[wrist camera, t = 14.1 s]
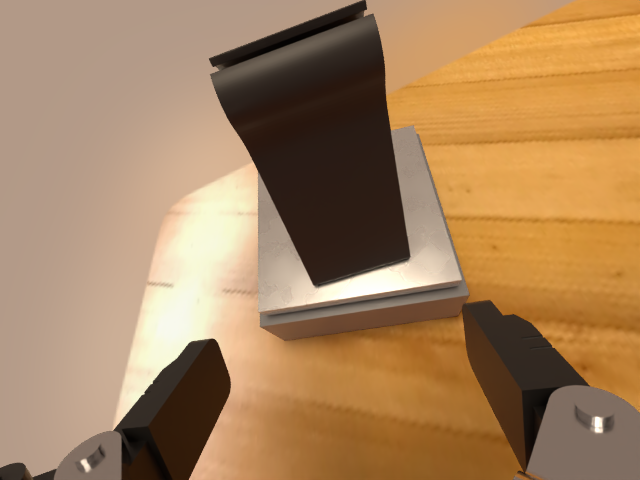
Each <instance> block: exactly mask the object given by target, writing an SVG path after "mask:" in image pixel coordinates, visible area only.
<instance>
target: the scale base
mask: <svg viewBox="0 0 640 480" xmlns="http://www.w3.org/2000/svg"><path fill="white" fill-rule="evenodd" d="M416 135H417V138H418V141H419V144H420V147H421V151H422V154H423V157H424V160H425V163H426V167H427V170H428V173H429V176H430V179H431V183H432V186H433V189H434V192H435V195H436V199H437V202H438V205H439V208H440V211H441V215H442V218H443V221H444V224H445V227H446V231H447V234H448V237H449V240H450V243H451V247H452V250H453V253H454V256H455V259H456V262H457V266H458V269H459V272H460V275H461V278H462V281H461V283H460V285H459V286H454V287H447V288H441V289H435V290H428V291H422V292H415V293H409V294H403V295H396V296H390V297H383V298H377V299H371V300H364V301H358V302H352V303H345V304H339V305H332V306H326V307H320V308H313V309H307V310H300V311H294V312H288V313H281V314H275V315H268V316H263V315H262V314H260V327H261V328H263V329H265V330H267V331H268V332H270V333H272V334H274V335H276V336H277V337H279V338H281V339H283V340H284V341H286V340H293V339H300V338H307V337H314V336H321V335H328V334H335V333H342V332H349V331H356V330H363V329H370V328H377V327H384V326H391V325H398V324H405V323H412V322H419V321H426V320H433V319H440V318H447V317H454V316H458V315H459V313H460V311H461V310H462V306H463V304H464V303H465V302H466V301H467V299H468V297H469V292H468V289H467V285H466V282H465V279H464V276H463V273H462V270H461V267H460V263H459V260H458V257H457V254H456V251H455V248H454V244H453V241H452V238H451V235H450V232H449V229H448V226H447V222H446V219H445V216H444V213H443V210H442V207H441V203H440V200H439V197H438V194H437V191H436V188H435V185H434V181H433V178H432V175H431V172H430V169H429V166H428V162H427V159H426V156H425V153H424V150H423V147H422V144H421V140H420V137H419V134H416Z"/></svg>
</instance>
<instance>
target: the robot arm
mask: <svg viewBox="0 0 640 480" xmlns="http://www.w3.org/2000/svg"><path fill="white" fill-rule="evenodd" d="M462 312H463V322H464V331H465V340H466V348H467V354H468V358H469V361H470V364H471V367H472V370H473V372H474V374H475V376H476V378H477V380H478V382H479V384H480V386H481V388H482V390H483V392H484V394H485V396H486V398H487V400H488V402H489V404H490V406H491V408H492V410H493V412H494V414H495V416H496V418H497V420H498V421H499V423H500V425H501V427H502V429H503V431H504V433H505V435H506V437H507V439H508V441H509V443H510V445H511V447H512V449H513V451H514V453H515V455H516V457H517V459H518V461H519V463H520V465H521V467H522V469H523V471H524V473H523V472H521V471H518V472H517V473H516V475H515V476H514V479H513V480H640V413H639V412H638V411H637V410H636V409H635V408H634V407H633V406H632V405H630V404H629V403H628V402H626V401H625V400H623V399H622V398H620V397H618V396H616V395H614V394H612V393H610V392H607V391H605V390H601V389H598V388H594V387H590V386H589V385H588V383H587V382H586V381H585V380H584V379H583V378H582V377H581V376H580V375H579V374H578V373H577V372H576V371H575V370H574V369H573V367H572V366H571V365H570V364H569V363H568V362H567V361H566V360H565V359H564V358H563V357H562V356H561V355H560V354H559V352H558V351H557V350H556V349H555V348H552V345H551V344H550V343H549V342H548V341H547V340H546V339H545V338H543V336H542V334H541V333H540V332H539V331H538V330H537V329H536V328H535V327H534V326H533V325H532V324H531V323H530V322H528V321H526V320H524V319H522V318H520V317H518V316H516V315H514V314H512V315H504V316H503V315H502V314H501V312H500V311H499V310H498V309H497V308H496V306H495V305H494V304H493V303H492V302H491V301H490V300H486V301H479V302H471V303H464V304H463V306H462ZM230 388H231V381H230V376H229V373H228V370H227V367H226V364H225V361H224V359H223V356H222V353H221V350H220V347H219V345H218V343H217V341H216V340H215V339H205V340H198V341H192V342H190V343H189V344H188V345H187V346H186V348H185V349H184V350H183V352H182V353H181V354H180V355H179V357H178V358H177V359H176V360H174V361H173V362H172V363H171V364H169V365H168V366H167V367H166V368H164V369H163V370H162V371H161V372H160V374H159V375H158V376H157V377H156V379H155V380H154V381H153V384H151V385H150V386H149V387H148V388H147V390H146V391H145V394H144V395H142V396H141V397H140V398H139V400H138V401H137V402H136V403H135V404H134V406H133V407H132V408H131V409H130V411H129V412H128V413H127V414H126V416H125V417H124V418H123V419H122V420H121V422H120V423H119V424H118V425H117V427H116V428H115V429H114V430H113V431H107V432H103V433H100V434H97V435H95V436H93V437H91V438H89V439H88V440H86V441H84V442H83V443H81V444H80V445H79V446H77V447H76V448H75V449H74V450H72V451H71V452H70V453H69V454H68V455H67V456H66V457H65V458H64V460H63V461H62V462H61V464H60V465H59V466H58V468H57V469H55V470H52V471H49V472H46V473H43V474H41V475H38V476H35V477H32V476H31V475H30V473H29V471H28V470H27V468H26V466H25V465H24V464H23V463H13V464H9V465H6V466H4V467H2V468H0V480H189V478H190V476H191V474H192V472H193V470H194V468H195V465H196V463H197V461H198V459H199V457H200V455H201V453H202V451H203V449H204V447H205V445H206V443H207V440H208V438H209V436H210V434H211V432H212V430H213V428H214V426H215V424H216V422H217V420H218V418H219V415H220V413H221V411H222V409H223V407H224V405H225V403H226V401H227V399H228V397H229V394H230Z"/></svg>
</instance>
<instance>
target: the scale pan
mask: <svg viewBox="0 0 640 480" xmlns="http://www.w3.org/2000/svg"><path fill="white" fill-rule="evenodd" d="M391 135H392V142H393V148H394V154H395V161H396V167H397V173H398V180H399V186H400V192H401V199H402V205H403V211H404V218H405V224H406V231H407V237H408V243H409V250H410V256H411V257H410V258H407V259H403V260H400V261H397V262H393V263H390V264H386V265H383V266H380V267H376V268H373V269H369V270H366V271H363V272H359V273H356V274H353V275H349V276H346V277H342V278H339V279H336V280H332V281H329V282H325V283H322V284H319V285H315V286H313V284H312V282H311V280H310V277H309V275H308V273H307V271H306V269H305V267H304V265H303V263H302V261H301V259H300V257H299V255H298V253H297V251H296V249H295V246H294V244H293V242H292V240H291V238H290V236H289V234H288V232H287V230H286V228H285V226H284V224H283V222H282V220H281V218H280V215H279V213H278V211H277V209H276V207H275V205H274V203H273V201H272V199H271V197H270V195H269V193H268V191H267V189H266V187H265V184H264V182H263V180H262V178H261V176H260V174H259V172H258V312H259V313H260V314H262V315H263V316H268V315H275V314H281V313H288V312H294V311H300V310H307V309H313V308H320V307H326V306H332V305H339V304H345V303H352V302H358V301H364V300H371V299H377V298H383V297H390V296H396V295H403V294H409V293H415V292H422V291H428V290H435V289H441V288H447V287H454V286H459V285H460V283H461V281H462V278H461V275H460V272H459V269H458V266H457V262H456V259H455V256H454V253H453V250H452V247H451V243H450V240H449V237H448V234H447V231H446V227H445V224H444V221H443V218H442V215H441V211H440V208H439V205H438V202H437V199H436V195H435V192H434V189H433V186H432V183H431V179H430V176H429V173H428V170H427V167H426V163H425V160H424V157H423V154H422V151H421V147H420V144H419V141H418V138H417V135H416V131H415V128H414V125H413V126H409V127H404V128H400V129H396V130H392V131H391Z"/></svg>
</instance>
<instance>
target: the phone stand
mask: <svg viewBox="0 0 640 480" xmlns="http://www.w3.org/2000/svg"><path fill="white" fill-rule="evenodd" d="M364 10H367V7H366V1H365V0H362V1H359V2H357V3H354V4H351V5H349V6H346V7H344V8H341V9H338V10H336V11H333V12H330V13H328V14H325V15H322V16H320V17H317V18H314V19H312V20H309V21H306V22H304V23H301V24H299V25H296V26H293V27H291V28H288V29H285V30H283V31H280V32H278V33H275V34H272V35H270V36H267V37H264V38H262V39H259V40H256V41H254V42H251V43H248V44H246V45H243V46H240V47H238V48H235V49H233V50H230V51H227V52H225V53H222V54H220V55H217V56H214V57H212V58H209V60H210V62H211V64H212V66H213V67H214V66H216V67H217V68H218V69H219V70H220V71H218V72H215V73H212V74H210V75H211V79H212V82H213V85H214V88H215V91H216V94H217V96H218V99H219V101H220V103H221V106H222V108H223V110H224V112H225V114H226V116H227V118H228V120H229V121H230V123H231V125H232V126H233V128H234V129H235V131H236V132H237V134H238V135H239V137H240V138H241V140H242V141H243V143H244V145H245V146H246V148H247V150H248V152H249V154H250V156H251V157H252V160H253V162H254V164H255V166H256V168H257V170H258V172H259V174H260V176H261V178H262V180H263V182H264V184H265V187H266V189H267V191H268V193H269V195H270V197H271V199H272V201H273V203H274V205H275V207H276V209H277V211H278V213H279V215H280V218H281V220H282V222H283V224H284V226H285V228H286V230H287V232H288V234H289V236H290V238H291V240H292V242H293V244H294V246H295V249H296V251H297V253H298V255H299V257H300V259H301V261H302V263H303V265H304V267H305V269H306V271H307V273H308V275H309V277H310V280H311V282H312V284H313V286H315V285H319V284H322V283H325V282H329V281H332V280H336V279H339V278H342V277H346V276H349V275H353V274H356V273H359V272H363V271H366V270H369V269H373V268H376V267H380V266H383V265H386V264H390V263H393V262H397V261H400V260H403V259H407V258H410V257H411V256H410V250H409V243H408V237H407V231H406V224H405V218H404V211H403V205H402V199H401V192H400V186H399V180H398V173H397V167H396V161H395V154H394V148H393V142H392V135H391V129H390V123H389V116H388V110H387V101H386V89H385V64H384V56H383V50H382V45H381V40H380V35H379V31H378V27H377V24H376V20H375V17H374V14H370V15H368V16H365V17H363V16H364Z"/></svg>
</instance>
